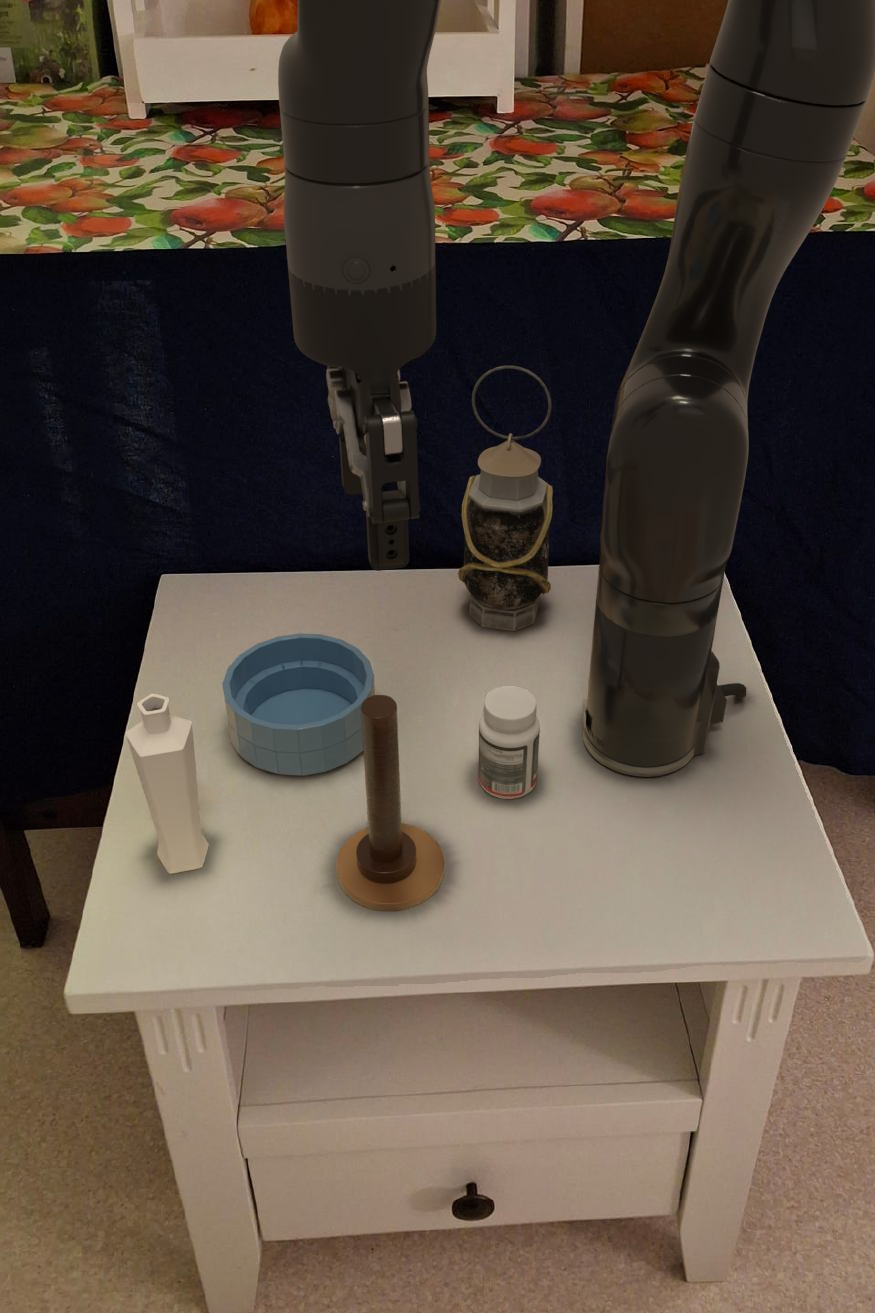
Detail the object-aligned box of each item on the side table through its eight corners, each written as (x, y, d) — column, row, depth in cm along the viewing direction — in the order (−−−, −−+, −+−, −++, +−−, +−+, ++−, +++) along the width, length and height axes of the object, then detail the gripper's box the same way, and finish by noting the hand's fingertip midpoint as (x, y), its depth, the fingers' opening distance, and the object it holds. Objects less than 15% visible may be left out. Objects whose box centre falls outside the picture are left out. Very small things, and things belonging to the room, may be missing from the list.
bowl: (361, 673, 109) (358, 624, 105) (388, 765, 99) (386, 715, 96) (223, 694, 106) (216, 645, 103) (238, 791, 97) (231, 740, 94)
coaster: (430, 821, 94) (430, 814, 94) (456, 900, 88) (456, 892, 88) (328, 840, 93) (328, 832, 93) (347, 920, 87) (346, 913, 86)
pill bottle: (507, 751, 101) (510, 673, 95) (549, 781, 98) (554, 702, 93) (465, 778, 98) (466, 700, 93) (507, 810, 95) (510, 730, 90)
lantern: (556, 592, 118) (572, 350, 102) (542, 642, 112) (557, 393, 96) (468, 581, 120) (470, 341, 104) (450, 630, 113) (449, 382, 98)
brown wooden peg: (409, 834, 92) (404, 680, 83) (422, 878, 89) (418, 722, 79) (352, 844, 92) (340, 690, 82) (362, 889, 88) (351, 733, 79)
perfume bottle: (140, 868, 91) (104, 717, 82) (171, 828, 94) (140, 678, 85) (193, 885, 90) (164, 734, 80) (223, 844, 93) (198, 694, 83)
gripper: (468, 301, 57) (466, 585, 67) (404, 203, 68) (410, 460, 78) (309, 318, 56) (331, 604, 66) (269, 215, 67) (294, 474, 77)
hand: (374, 526), depth 72 cm, fingers open, 8 cm apart
